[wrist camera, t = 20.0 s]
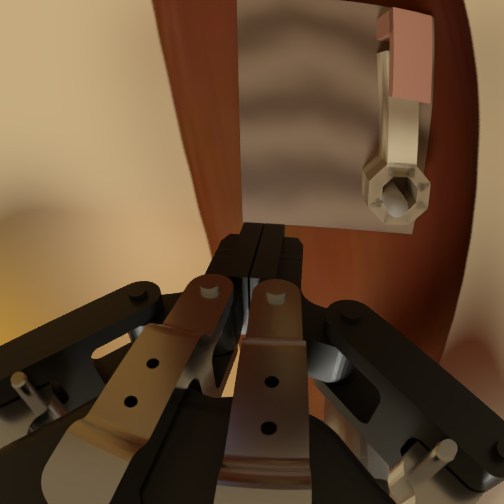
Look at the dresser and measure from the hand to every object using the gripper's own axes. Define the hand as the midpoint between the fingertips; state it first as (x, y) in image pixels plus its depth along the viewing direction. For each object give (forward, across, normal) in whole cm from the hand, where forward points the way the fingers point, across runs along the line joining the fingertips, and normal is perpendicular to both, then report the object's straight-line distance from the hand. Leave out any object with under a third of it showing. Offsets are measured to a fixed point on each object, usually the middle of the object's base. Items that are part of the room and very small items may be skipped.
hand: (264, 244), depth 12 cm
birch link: (+18, -9, -2) cm, 20 cm away
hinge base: (+19, -4, -3) cm, 20 cm away
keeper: (+19, -9, -9) cm, 23 cm away
